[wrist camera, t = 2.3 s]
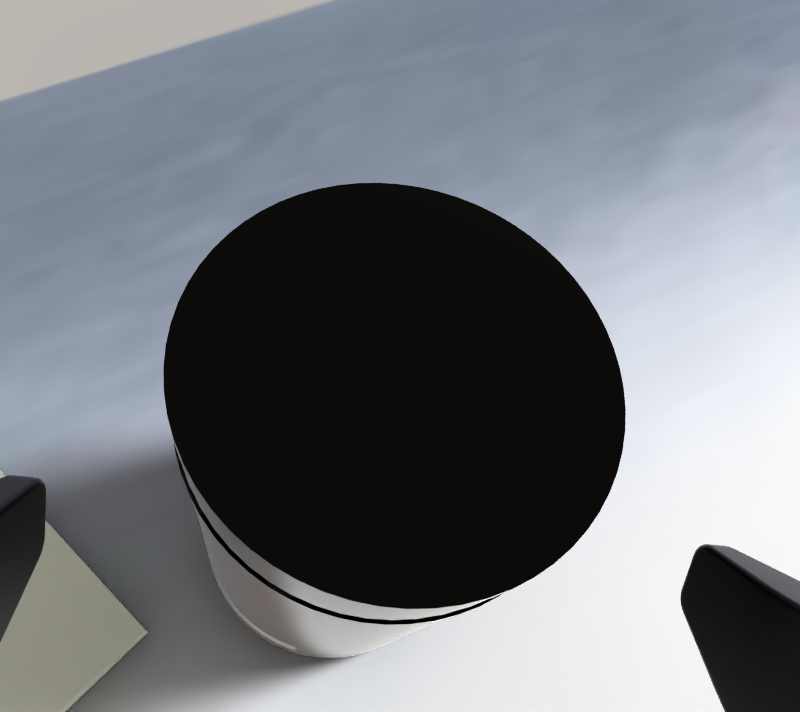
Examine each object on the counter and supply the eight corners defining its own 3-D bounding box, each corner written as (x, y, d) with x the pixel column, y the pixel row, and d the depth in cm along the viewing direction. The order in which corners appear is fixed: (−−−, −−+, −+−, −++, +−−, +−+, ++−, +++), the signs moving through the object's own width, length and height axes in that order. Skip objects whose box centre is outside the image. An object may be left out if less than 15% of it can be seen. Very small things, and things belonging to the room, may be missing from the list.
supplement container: (488, 496, 20) (683, 320, 11) (372, 718, 17) (515, 729, 8) (299, 378, 21) (337, 119, 12) (152, 569, 17) (43, 417, 8)
